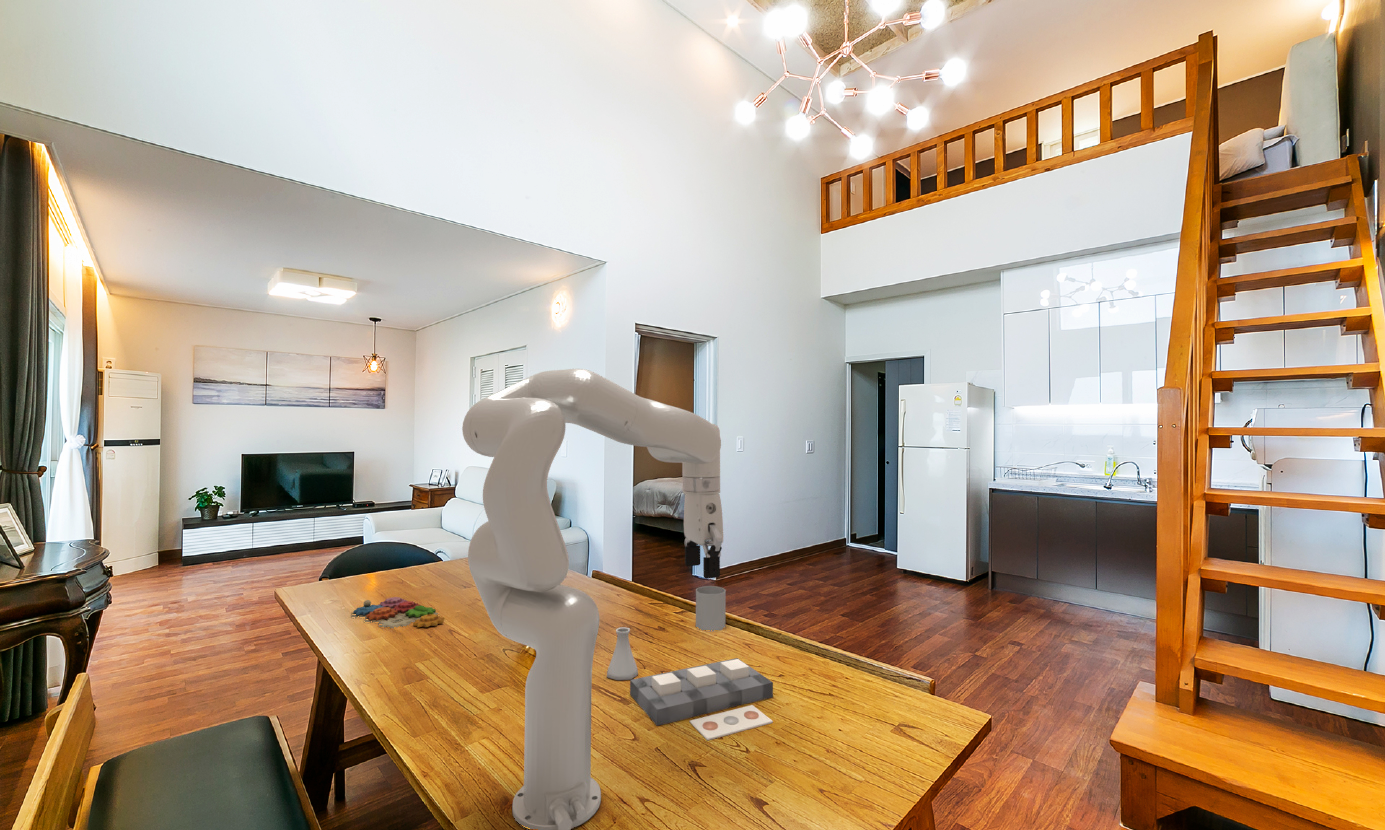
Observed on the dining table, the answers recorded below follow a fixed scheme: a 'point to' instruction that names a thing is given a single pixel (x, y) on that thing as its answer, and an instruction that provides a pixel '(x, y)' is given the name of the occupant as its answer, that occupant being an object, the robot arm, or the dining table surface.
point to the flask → (622, 658)
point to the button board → (699, 695)
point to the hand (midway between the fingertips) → (701, 571)
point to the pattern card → (730, 722)
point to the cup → (710, 608)
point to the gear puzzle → (398, 613)
